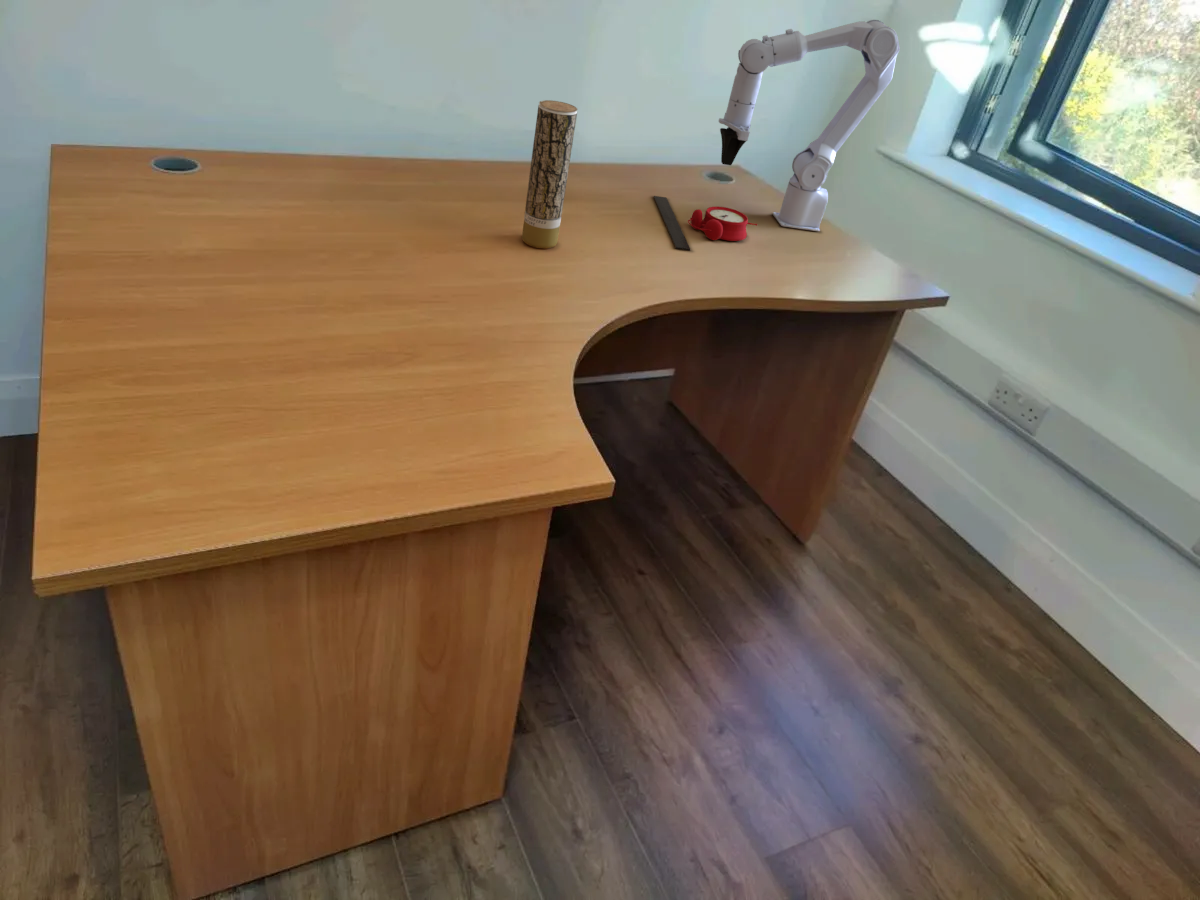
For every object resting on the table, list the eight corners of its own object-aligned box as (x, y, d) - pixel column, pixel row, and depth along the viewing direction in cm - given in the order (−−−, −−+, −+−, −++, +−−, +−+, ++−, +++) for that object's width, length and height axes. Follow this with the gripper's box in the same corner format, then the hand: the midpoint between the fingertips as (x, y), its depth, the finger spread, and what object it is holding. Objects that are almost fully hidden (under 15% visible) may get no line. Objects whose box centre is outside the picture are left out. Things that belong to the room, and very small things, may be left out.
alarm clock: (764, 224, 179) (716, 212, 169) (751, 251, 181) (703, 240, 172) (733, 206, 185) (686, 193, 176) (721, 232, 188) (674, 221, 178)
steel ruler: (665, 199, 193) (666, 197, 192) (689, 250, 169) (690, 249, 168) (653, 197, 192) (653, 195, 192) (675, 249, 168) (676, 247, 168)
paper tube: (551, 253, 155) (572, 114, 141) (516, 244, 156) (534, 105, 141) (560, 241, 161) (581, 106, 146) (527, 232, 161) (544, 97, 147)
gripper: (717, 89, 185) (702, 151, 192) (732, 106, 173) (716, 171, 181) (747, 94, 186) (731, 155, 194) (764, 112, 174) (747, 176, 182)
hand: (726, 163), depth 187 cm, fingers closed
